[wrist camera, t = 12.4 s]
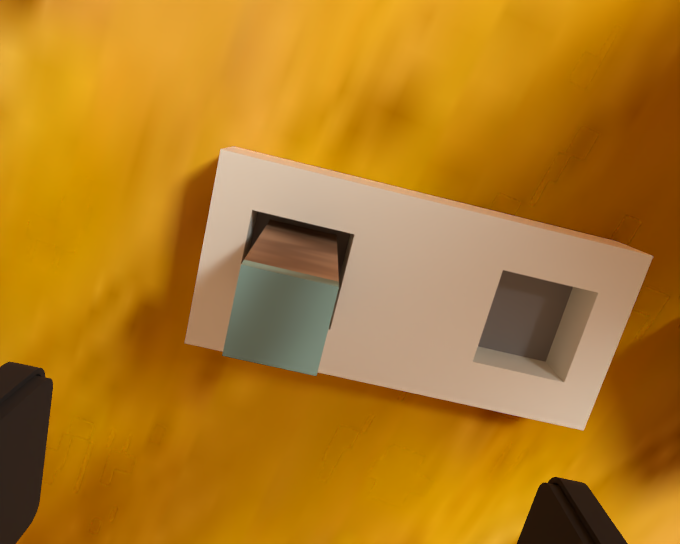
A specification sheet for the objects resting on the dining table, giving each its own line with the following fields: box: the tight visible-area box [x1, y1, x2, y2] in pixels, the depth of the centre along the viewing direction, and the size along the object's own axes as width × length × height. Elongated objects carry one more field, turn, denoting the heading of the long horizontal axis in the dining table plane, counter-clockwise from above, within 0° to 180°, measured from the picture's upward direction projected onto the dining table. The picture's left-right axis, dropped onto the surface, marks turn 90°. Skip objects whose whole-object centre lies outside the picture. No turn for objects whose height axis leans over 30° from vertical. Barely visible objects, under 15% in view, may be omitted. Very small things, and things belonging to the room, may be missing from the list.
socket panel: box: [185, 146, 653, 430], centre depth 33 cm, size 24×11×4 cm, turn 76°
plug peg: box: [222, 220, 339, 376], centre depth 28 cm, size 4×4×11 cm
